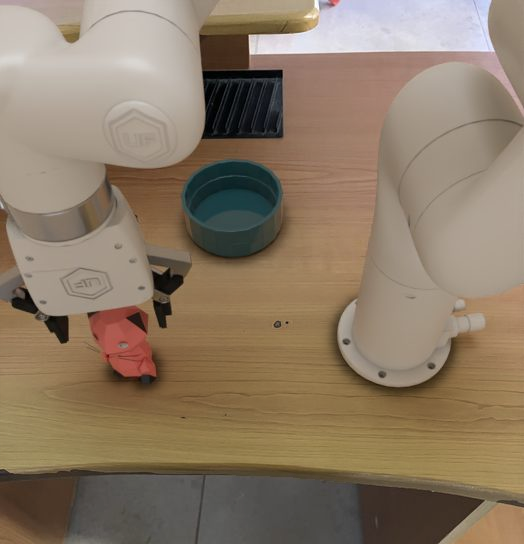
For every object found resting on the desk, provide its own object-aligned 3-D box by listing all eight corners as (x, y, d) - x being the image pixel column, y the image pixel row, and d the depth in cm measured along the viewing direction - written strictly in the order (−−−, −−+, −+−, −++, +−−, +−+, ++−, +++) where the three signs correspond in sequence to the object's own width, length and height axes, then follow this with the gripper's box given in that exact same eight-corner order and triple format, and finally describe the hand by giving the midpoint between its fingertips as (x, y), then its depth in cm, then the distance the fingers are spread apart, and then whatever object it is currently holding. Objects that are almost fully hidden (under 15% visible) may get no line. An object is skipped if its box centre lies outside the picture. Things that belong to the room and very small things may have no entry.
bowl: (272, 181, 79) (272, 152, 74) (291, 250, 72) (291, 222, 68) (182, 195, 78) (176, 166, 74) (192, 265, 71) (186, 238, 67)
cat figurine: (96, 384, 63) (59, 324, 53) (122, 334, 66) (92, 268, 56) (154, 400, 62) (129, 343, 52) (178, 349, 65) (158, 285, 55)
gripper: (-67, 250, 39) (24, 370, 54) (182, 216, 41) (205, 342, 55) (-55, 175, 43) (27, 306, 58) (172, 147, 45) (196, 282, 59)
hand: (114, 323), depth 57 cm, fingers open, 9 cm apart
